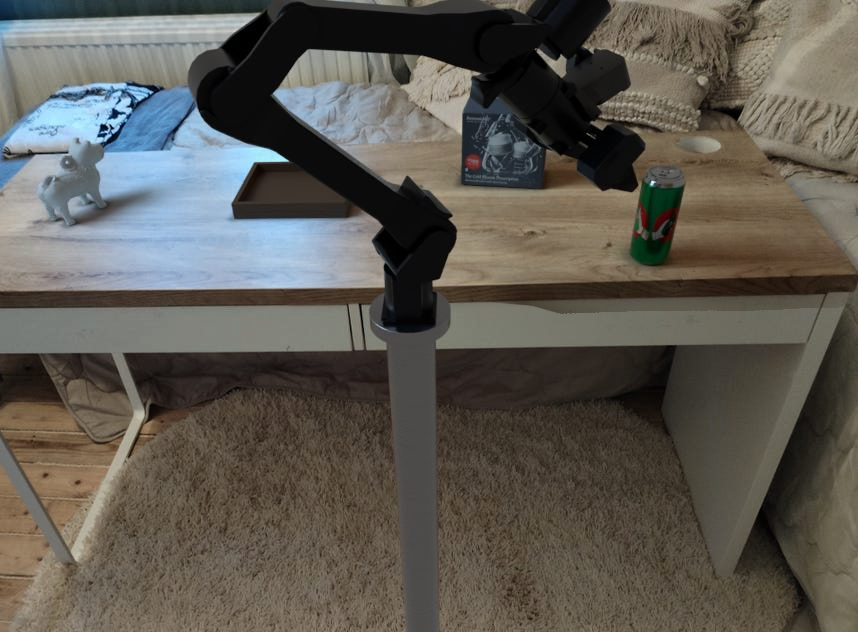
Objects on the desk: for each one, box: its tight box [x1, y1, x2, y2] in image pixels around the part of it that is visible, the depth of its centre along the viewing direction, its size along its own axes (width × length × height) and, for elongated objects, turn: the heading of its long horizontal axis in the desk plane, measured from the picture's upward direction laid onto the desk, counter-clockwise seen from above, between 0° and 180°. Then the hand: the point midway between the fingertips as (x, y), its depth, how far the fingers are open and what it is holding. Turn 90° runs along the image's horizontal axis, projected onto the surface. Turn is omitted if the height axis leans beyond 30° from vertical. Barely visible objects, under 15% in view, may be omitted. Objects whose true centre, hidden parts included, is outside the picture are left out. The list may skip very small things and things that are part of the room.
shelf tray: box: [230, 160, 351, 220], centre depth 114 cm, size 16×18×2 cm
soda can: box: [628, 164, 687, 266], centre depth 90 cm, size 5×5×12 cm
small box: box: [460, 96, 547, 190], centre depth 111 cm, size 13×7×12 cm, turn 76°
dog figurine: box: [36, 137, 108, 226], centre depth 112 cm, size 5×13×11 cm, turn 152°
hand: (611, 173), depth 84 cm, fingers open, 9 cm apart
